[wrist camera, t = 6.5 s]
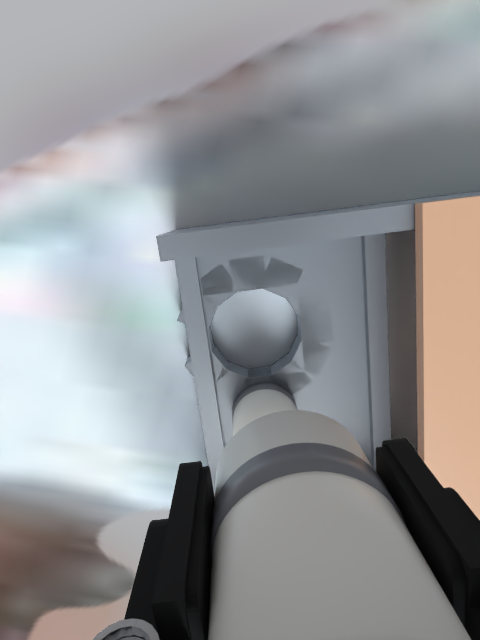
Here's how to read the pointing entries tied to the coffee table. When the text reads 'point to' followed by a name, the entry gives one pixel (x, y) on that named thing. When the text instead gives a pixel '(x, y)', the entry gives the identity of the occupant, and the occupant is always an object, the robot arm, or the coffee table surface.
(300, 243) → the housing
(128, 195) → the coffee table surface
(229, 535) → the peg
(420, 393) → the lid
